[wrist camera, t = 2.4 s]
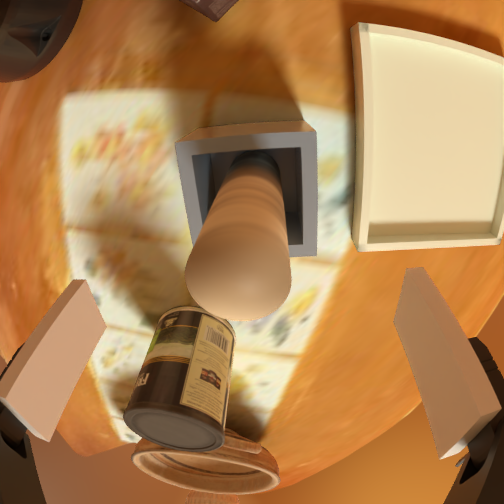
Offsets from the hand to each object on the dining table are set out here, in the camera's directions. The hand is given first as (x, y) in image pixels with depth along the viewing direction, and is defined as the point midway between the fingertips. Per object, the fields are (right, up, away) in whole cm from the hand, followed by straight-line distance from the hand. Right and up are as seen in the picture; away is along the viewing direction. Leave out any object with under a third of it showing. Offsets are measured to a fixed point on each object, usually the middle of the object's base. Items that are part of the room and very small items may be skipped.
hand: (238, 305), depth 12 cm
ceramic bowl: (-8, -35, +42) cm, 55 cm away
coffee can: (-6, -9, +26) cm, 28 cm away
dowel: (+1, +8, +14) cm, 16 cm away
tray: (+18, +12, +11) cm, 25 cm away
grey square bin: (+1, +9, +15) cm, 17 cm away
